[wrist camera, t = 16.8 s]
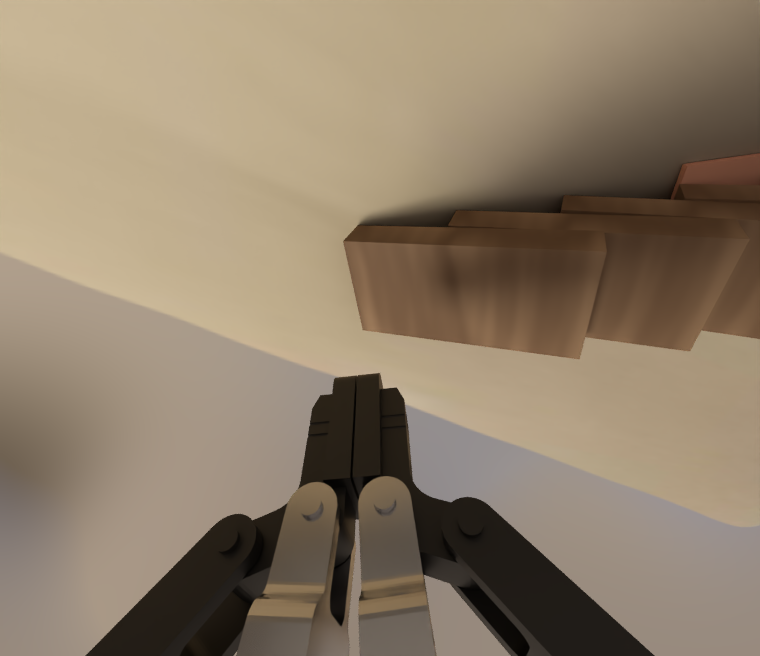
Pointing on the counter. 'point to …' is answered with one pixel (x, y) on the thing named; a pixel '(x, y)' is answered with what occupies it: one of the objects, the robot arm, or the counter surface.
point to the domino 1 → (478, 284)
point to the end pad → (721, 172)
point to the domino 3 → (756, 265)
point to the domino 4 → (719, 193)
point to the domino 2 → (644, 270)
